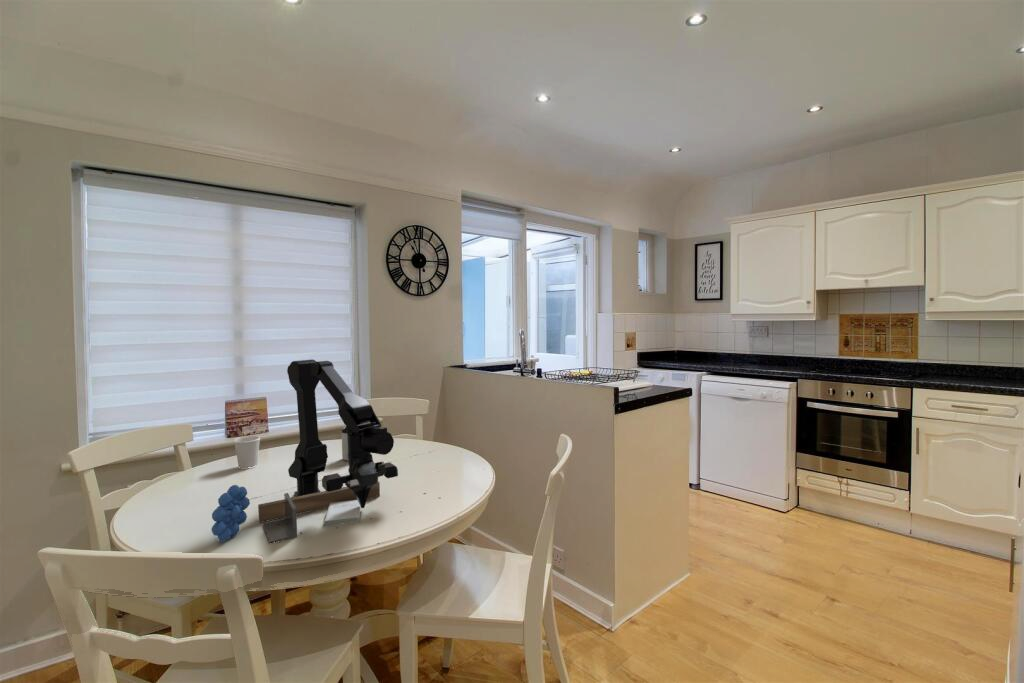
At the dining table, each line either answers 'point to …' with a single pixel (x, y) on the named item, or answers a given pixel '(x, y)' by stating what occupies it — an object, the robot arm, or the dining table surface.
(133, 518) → the dining table surface
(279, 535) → the bookend
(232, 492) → the grapes
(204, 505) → the dining table surface
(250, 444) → the dixie cup
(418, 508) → the dining table surface
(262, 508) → the rail
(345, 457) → the can
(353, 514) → the external hard drive
